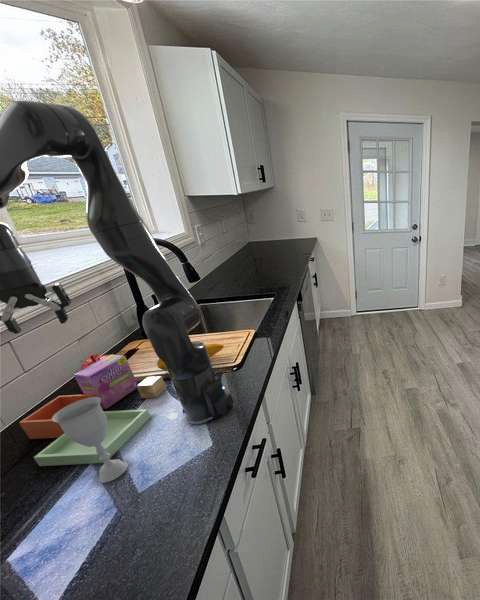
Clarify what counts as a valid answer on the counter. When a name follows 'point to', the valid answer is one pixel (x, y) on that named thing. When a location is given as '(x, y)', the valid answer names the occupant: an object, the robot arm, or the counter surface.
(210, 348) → the corn
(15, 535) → the counter surface
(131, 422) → the tray
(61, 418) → the chalice
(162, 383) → the block
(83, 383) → the box
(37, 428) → the bin
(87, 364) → the pomegranate
